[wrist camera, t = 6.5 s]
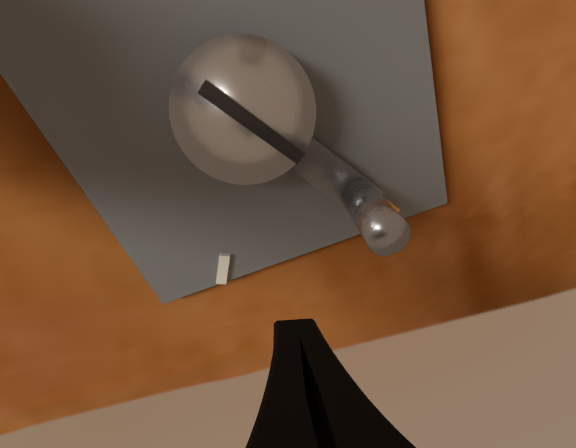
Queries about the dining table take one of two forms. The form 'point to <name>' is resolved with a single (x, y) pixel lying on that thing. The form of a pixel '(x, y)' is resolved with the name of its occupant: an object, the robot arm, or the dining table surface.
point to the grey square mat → (169, 156)
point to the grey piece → (269, 130)
